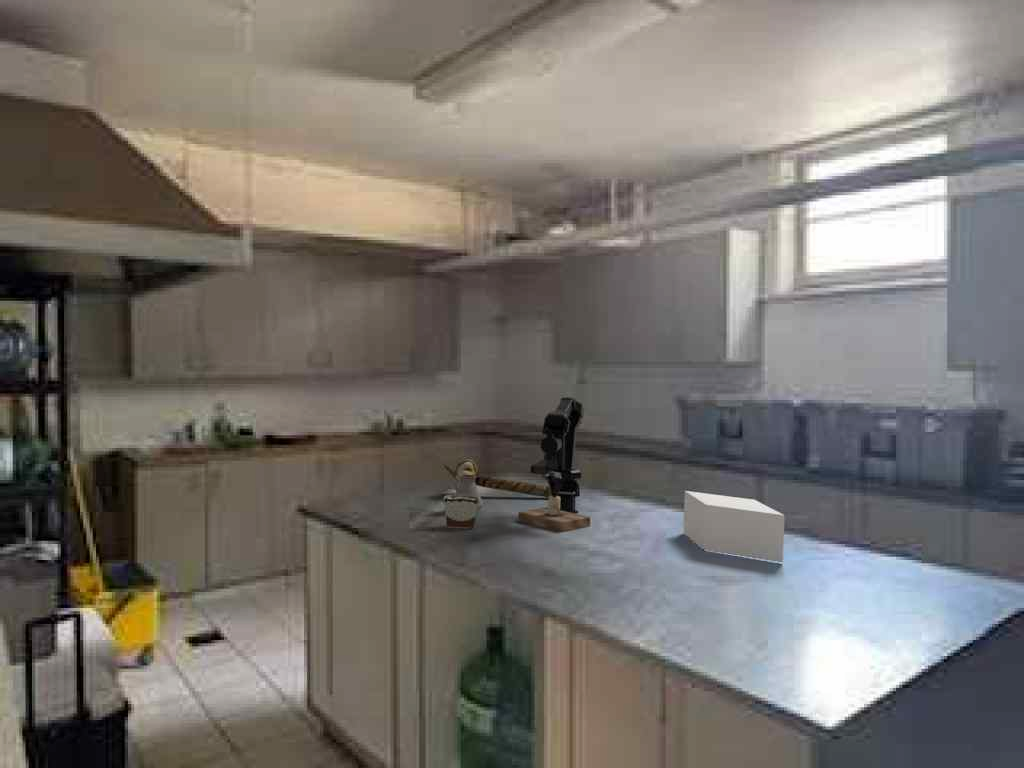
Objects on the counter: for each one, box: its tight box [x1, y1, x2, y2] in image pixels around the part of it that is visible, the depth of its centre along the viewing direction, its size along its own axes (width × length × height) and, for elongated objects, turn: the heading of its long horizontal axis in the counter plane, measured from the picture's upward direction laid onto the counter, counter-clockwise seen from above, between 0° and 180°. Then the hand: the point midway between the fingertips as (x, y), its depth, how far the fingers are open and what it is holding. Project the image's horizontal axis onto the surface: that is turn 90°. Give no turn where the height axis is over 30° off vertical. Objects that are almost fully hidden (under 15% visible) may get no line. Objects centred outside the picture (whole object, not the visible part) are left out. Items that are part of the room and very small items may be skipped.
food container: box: [441, 493, 480, 529], centre depth 247 cm, size 12×6×10 cm, turn 84°
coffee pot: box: [441, 464, 484, 513], centre depth 274 cm, size 21×12×15 cm, turn 38°
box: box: [682, 490, 786, 563], centre depth 227 cm, size 20×40×14 cm, turn 30°
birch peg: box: [547, 496, 560, 517], centre depth 254 cm, size 4×4×9 cm
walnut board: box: [517, 507, 591, 533], centre depth 254 cm, size 14×20×3 cm
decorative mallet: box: [452, 459, 558, 498], centre depth 301 cm, size 15×42×16 cm, turn 97°
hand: (554, 496), depth 254 cm, fingers closed
